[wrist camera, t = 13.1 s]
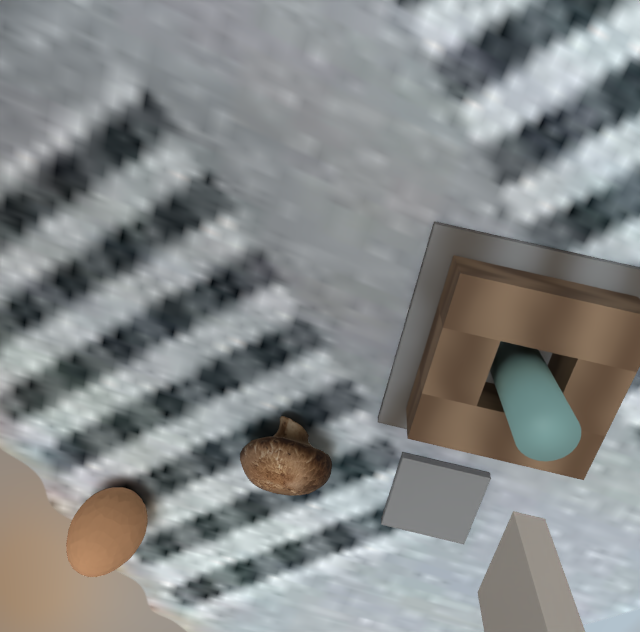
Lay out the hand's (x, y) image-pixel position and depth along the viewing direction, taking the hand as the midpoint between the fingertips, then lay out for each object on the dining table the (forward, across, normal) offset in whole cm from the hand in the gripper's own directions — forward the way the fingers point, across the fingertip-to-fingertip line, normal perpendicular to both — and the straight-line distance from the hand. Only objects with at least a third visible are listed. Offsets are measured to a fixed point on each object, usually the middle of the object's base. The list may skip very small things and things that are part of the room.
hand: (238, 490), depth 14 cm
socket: (+32, +16, -8) cm, 36 cm away
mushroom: (+32, 0, -22) cm, 39 cm away
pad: (+32, +14, -24) cm, 42 cm away
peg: (+31, +16, -8) cm, 36 cm away
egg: (+32, -15, -33) cm, 48 cm away
